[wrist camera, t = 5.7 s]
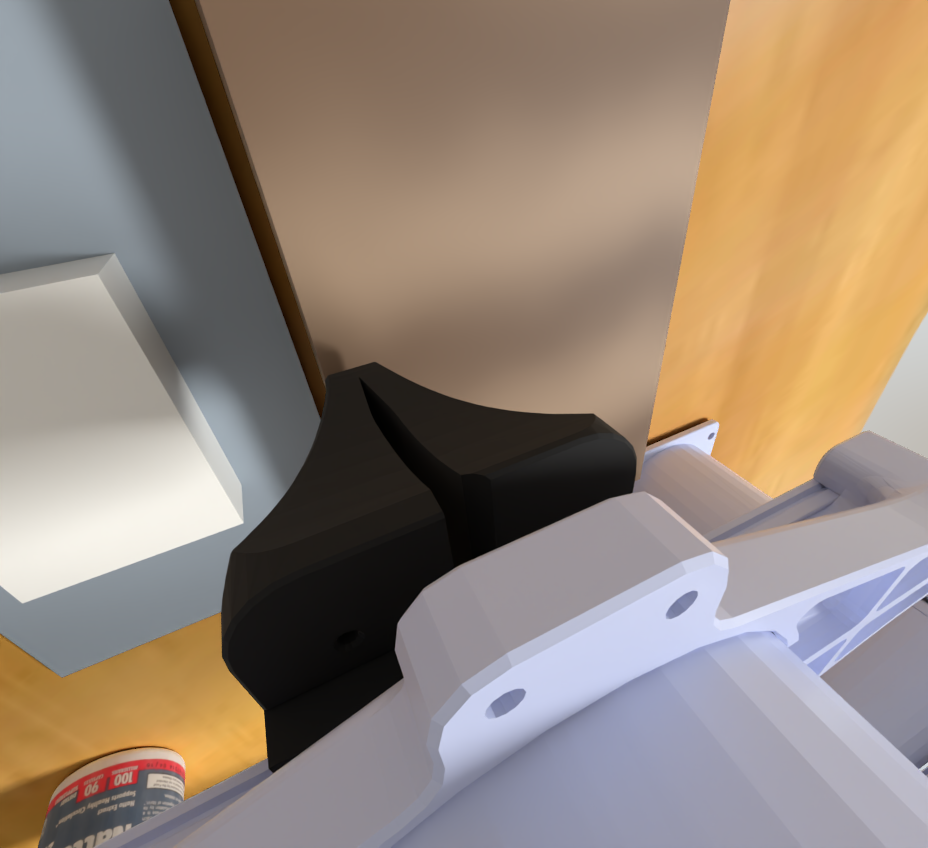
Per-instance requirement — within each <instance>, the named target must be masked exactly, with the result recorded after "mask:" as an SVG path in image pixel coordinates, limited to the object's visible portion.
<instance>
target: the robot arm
mask: <svg viewBox="0 0 928 848" xmlns="http://www.w3.org/2000/svg"><path fill="white" fill-rule="evenodd" d="M325 383H326V394H325V402H324V407H323V412H322V417H321V421H320V424H319V427H318V430H317V434H316V437H315V440H314V442H313V445H312V447H311V449H310V452H309V454H308V456H307V458H306V460H305V462H304V464H303V466H302V468H301V469H300V471H299V473H298V475H297V476H296V478H295V480H294V482H293V483H292V485H291V486H290V488H289V489H288V491H287V492H286V493H285V495H284V496H283V497H282V499H281V500H280V501H279V502H278V503H277V505H276V506H275V507H274V508H273V509H272V511H271V512H270V513H269V514H268V515H267V516H266V517H265V519H264V520H263V521H262V522H261V523H260V524H259V525H258V526H257V527H256V528H255V529H254V530H253V531H252V532H251V533H250V534H249V535H248V536H247V537H246V538H245V539H244V540H243V541H242V542H241V543H240V544H239V545H238V546H236V547H235V548H234V549H233V550H232V552H231V554H230V558H229V563H228V568H227V573H226V578H225V585H224V591H223V597H222V608H221V627H222V658H223V659H224V661H225V663H226V665H227V667H228V669H229V671H230V672H231V673H232V674H233V676H234V677H235V678H236V679H237V680H238V681H239V682H240V684H241V685H242V686H243V687H244V688H245V689H246V690H247V691H248V693H249V694H250V695H251V696H252V697H253V698H254V699H255V701H256V702H257V703H258V704H259V705H260V706H261V707H262V708H263V710H264V715H265V728H266V742H267V755H268V758H267V759H265V760H263V761H261V762H259V763H257V764H255V765H253V766H251V767H249V768H247V769H245V770H243V771H242V772H240V773H238V774H236V775H234V776H232V777H230V778H228V779H226V780H224V781H222V782H220V783H218V784H216V785H214V786H212V787H210V788H208V789H206V790H204V791H203V792H201V793H199V794H197V795H195V796H193V797H191V798H189V799H187V800H185V801H183V802H181V803H179V804H177V805H175V806H173V807H171V808H169V809H167V810H165V811H163V812H162V813H160V814H158V815H156V816H154V817H152V818H150V819H148V820H146V821H144V822H142V823H140V824H138V825H136V826H134V827H132V828H130V829H128V830H126V831H124V832H123V833H121V834H119V835H117V836H115V837H113V838H111V839H109V840H107V841H105V842H103V843H101V844H99V845H97V846H95V847H93V848H928V767H926V768H925V769H923V770H922V771H920V770H919V768H921V767H922V766H923V765H925V764H926V763H927V762H928V458H925V457H923V456H921V455H919V454H917V453H915V452H913V451H911V450H909V449H906V448H905V447H903V446H901V445H898V444H896V443H894V442H892V441H890V440H888V439H886V438H884V437H882V436H880V435H877V434H875V433H873V432H871V431H865V432H862V433H860V434H858V435H856V436H854V437H852V438H850V439H848V440H846V441H844V442H842V443H840V444H838V445H836V446H834V447H833V448H831V449H830V450H829V451H828V452H827V453H826V454H825V455H824V456H823V457H822V459H821V460H820V462H819V463H818V465H817V467H816V470H815V472H814V478H813V479H811V480H809V481H807V482H806V483H804V484H802V485H800V486H798V487H796V488H794V489H792V490H790V491H788V492H786V493H784V494H782V495H780V496H778V497H776V498H774V499H773V498H771V497H770V496H768V495H767V494H765V493H764V492H762V491H761V490H759V489H758V488H757V487H755V486H754V485H752V484H751V483H749V482H748V481H746V480H745V479H743V478H742V477H740V476H739V475H738V474H736V473H735V472H733V471H732V470H730V469H729V468H727V467H726V466H724V465H723V464H722V463H720V462H719V461H717V460H716V459H714V458H713V457H711V456H710V454H711V451H712V448H713V445H714V441H715V438H716V435H717V432H718V428H719V423H718V422H717V421H715V420H713V419H712V420H709V421H706V422H704V423H702V424H699V425H697V426H694V427H692V428H690V429H687V430H685V431H683V432H680V433H678V434H675V435H673V436H671V437H668V438H666V439H664V440H661V441H659V442H656V443H654V444H652V445H649V446H647V447H646V450H645V455H644V461H643V466H642V471H641V477H640V479H639V480H637V481H635V477H636V467H637V456H636V453H635V450H634V447H633V446H632V444H631V443H630V442H629V441H628V440H627V439H626V438H625V437H624V436H622V435H621V434H620V433H618V432H617V431H616V430H615V429H613V428H612V427H611V426H609V425H608V424H607V423H606V422H604V421H603V420H602V419H600V418H599V417H598V416H596V415H595V414H593V413H585V414H545V413H530V412H519V411H510V410H504V409H498V408H492V407H486V406H482V405H477V404H473V403H470V402H466V401H462V400H459V399H455V398H452V397H449V396H446V395H443V394H441V393H438V392H436V391H433V390H430V389H428V388H426V387H423V386H421V385H419V384H417V383H415V382H413V381H410V380H408V379H406V378H404V377H402V376H401V375H399V374H397V373H395V372H393V371H391V370H389V369H388V368H386V367H384V366H382V365H380V364H379V363H377V362H372V363H369V364H365V365H362V366H358V367H355V368H351V369H348V370H345V371H341V372H338V373H334V374H331V375H328V376H327V378H326V379H325Z"/></svg>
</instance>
